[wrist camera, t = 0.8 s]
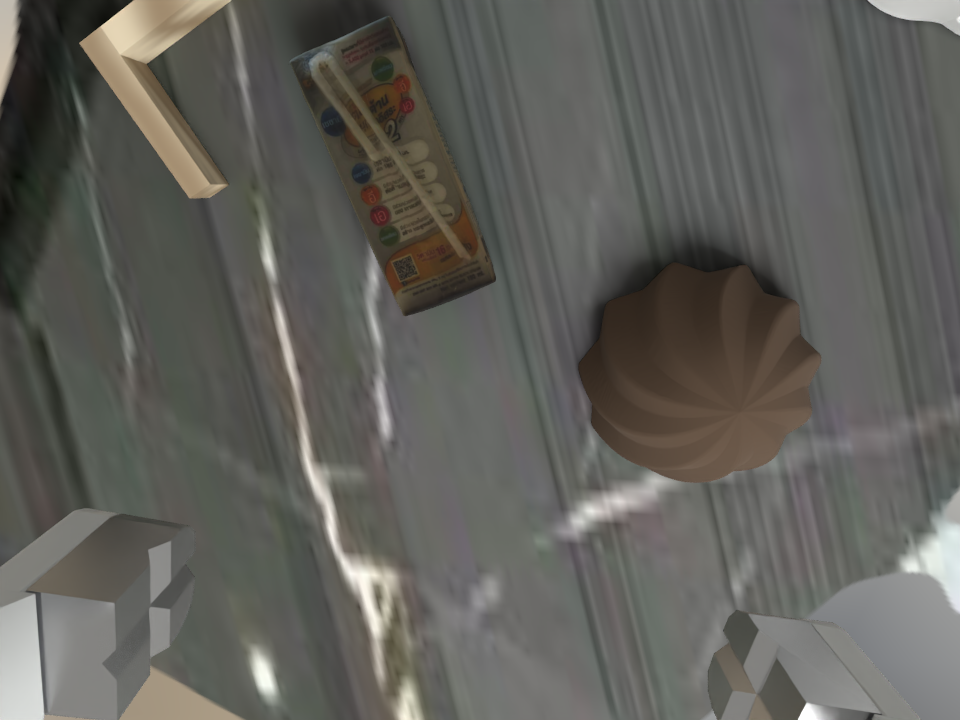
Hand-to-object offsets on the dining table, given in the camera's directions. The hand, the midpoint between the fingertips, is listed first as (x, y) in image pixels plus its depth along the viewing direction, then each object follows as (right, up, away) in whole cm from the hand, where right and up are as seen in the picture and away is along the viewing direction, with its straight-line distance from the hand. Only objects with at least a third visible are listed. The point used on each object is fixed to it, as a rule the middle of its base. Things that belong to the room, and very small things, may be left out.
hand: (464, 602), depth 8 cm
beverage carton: (-5, +18, +35) cm, 40 cm away
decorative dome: (+19, +3, +39) cm, 44 cm away
